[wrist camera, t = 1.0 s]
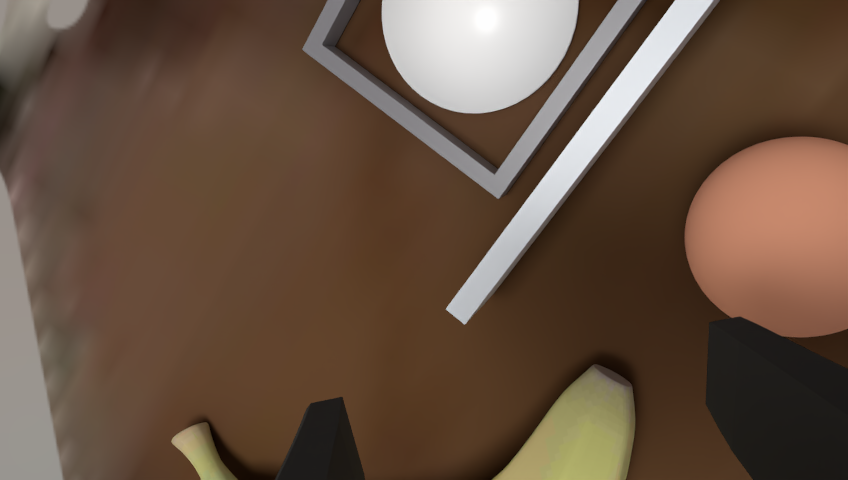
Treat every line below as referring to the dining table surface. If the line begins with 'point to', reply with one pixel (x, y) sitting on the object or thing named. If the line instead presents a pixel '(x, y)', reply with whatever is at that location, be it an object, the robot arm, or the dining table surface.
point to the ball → (775, 236)
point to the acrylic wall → (582, 152)
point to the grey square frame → (473, 66)
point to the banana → (544, 450)
